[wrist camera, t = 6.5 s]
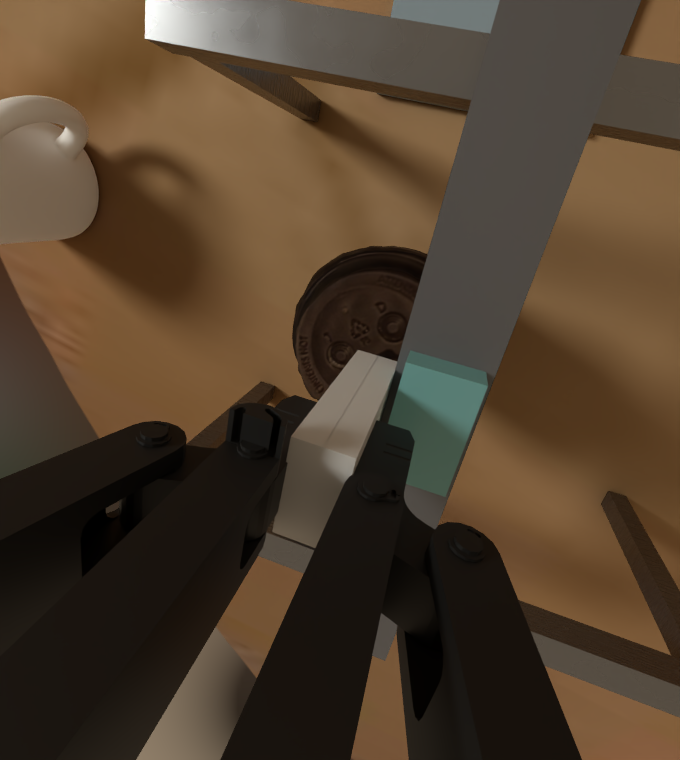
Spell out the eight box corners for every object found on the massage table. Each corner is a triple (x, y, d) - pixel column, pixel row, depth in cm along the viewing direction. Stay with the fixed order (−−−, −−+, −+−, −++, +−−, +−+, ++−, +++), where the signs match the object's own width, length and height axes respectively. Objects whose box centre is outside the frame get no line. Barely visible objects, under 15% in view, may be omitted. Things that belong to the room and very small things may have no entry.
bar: (338, 580, 23) (310, 664, 18) (505, -1, 13) (525, -102, 9) (394, 602, 22) (378, 692, 18) (611, 15, 12) (685, -84, 8)
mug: (90, 63, 30) (-77, -3, 21) (156, 178, 32) (29, 164, 22) (-5, 161, 35) (-176, 143, 25) (57, 257, 36) (-82, 273, 27)
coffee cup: (454, 370, 31) (448, 466, 19) (341, 349, 33) (273, 426, 21) (483, 242, 28) (497, 265, 16) (356, 225, 29) (283, 236, 18)
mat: (377, 93, 26) (375, 91, 26) (418, -108, 23) (417, -115, 22) (583, 133, 24) (585, 131, 24) (664, -79, 21) (669, -86, 20)
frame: (258, 396, 36) (135, 508, 22) (303, 93, 27) (146, -23, 14) (617, 511, 32) (731, 737, 18) (806, 192, 23) (1302, 165, 9)
